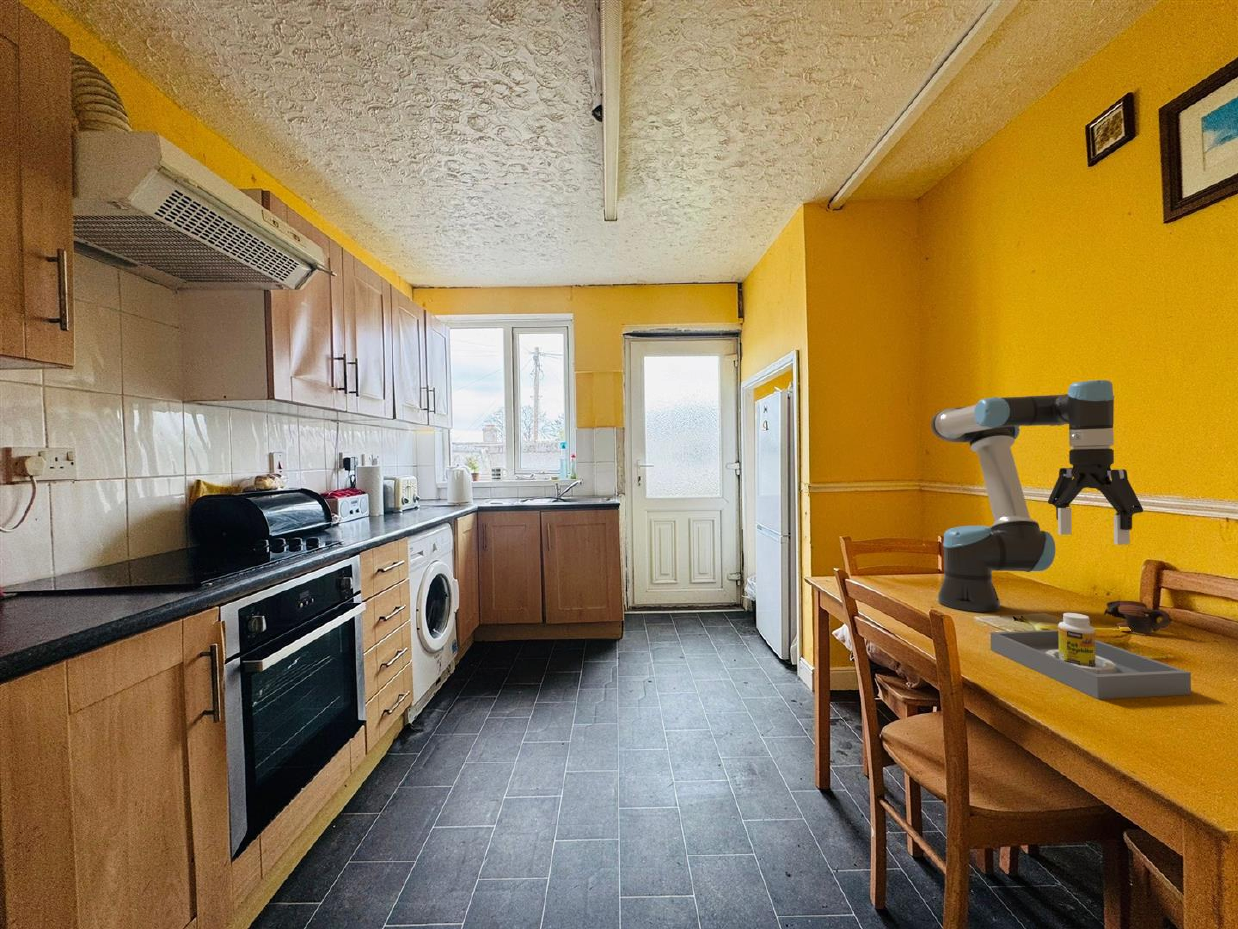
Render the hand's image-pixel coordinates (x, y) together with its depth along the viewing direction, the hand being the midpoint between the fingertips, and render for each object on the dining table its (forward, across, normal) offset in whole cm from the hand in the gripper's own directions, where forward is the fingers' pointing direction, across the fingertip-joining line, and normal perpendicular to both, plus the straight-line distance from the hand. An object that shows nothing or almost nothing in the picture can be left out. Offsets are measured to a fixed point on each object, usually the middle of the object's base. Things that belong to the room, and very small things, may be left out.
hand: (1091, 539), depth 116 cm
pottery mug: (+25, -8, +19) cm, 32 cm away
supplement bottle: (+23, +14, -17) cm, 32 cm away
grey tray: (+24, +14, -16) cm, 32 cm away
